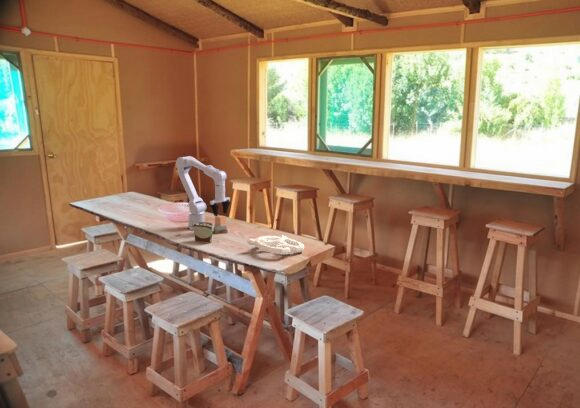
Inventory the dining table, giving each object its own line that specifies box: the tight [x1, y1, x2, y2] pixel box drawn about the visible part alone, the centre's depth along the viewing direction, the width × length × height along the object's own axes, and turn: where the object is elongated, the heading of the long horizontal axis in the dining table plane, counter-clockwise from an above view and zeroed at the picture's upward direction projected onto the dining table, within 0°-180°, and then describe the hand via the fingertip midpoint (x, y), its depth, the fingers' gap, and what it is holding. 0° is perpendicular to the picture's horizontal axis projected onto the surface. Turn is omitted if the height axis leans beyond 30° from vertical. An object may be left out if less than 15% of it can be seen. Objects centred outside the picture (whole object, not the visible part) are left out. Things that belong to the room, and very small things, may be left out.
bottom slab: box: [212, 228, 229, 235], centre depth 260 cm, size 7×7×2 cm
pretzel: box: [246, 235, 305, 255], centre depth 230 cm, size 28×24×6 cm
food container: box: [192, 221, 214, 244], centre depth 242 cm, size 12×6×10 cm, turn 71°
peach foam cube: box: [214, 214, 227, 226], centre depth 259 cm, size 4×4×5 cm
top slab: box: [213, 223, 228, 230], centre depth 260 cm, size 6×6×2 cm
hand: (220, 214), depth 259 cm, fingers open, 7 cm apart
